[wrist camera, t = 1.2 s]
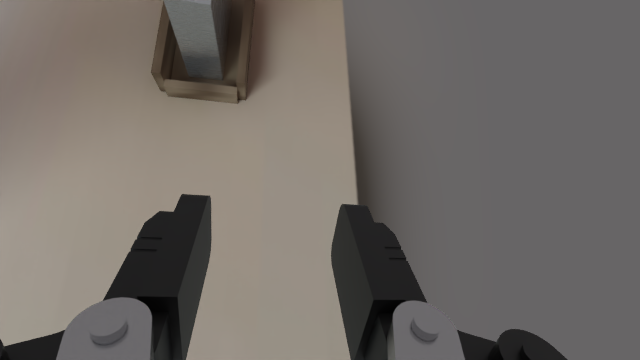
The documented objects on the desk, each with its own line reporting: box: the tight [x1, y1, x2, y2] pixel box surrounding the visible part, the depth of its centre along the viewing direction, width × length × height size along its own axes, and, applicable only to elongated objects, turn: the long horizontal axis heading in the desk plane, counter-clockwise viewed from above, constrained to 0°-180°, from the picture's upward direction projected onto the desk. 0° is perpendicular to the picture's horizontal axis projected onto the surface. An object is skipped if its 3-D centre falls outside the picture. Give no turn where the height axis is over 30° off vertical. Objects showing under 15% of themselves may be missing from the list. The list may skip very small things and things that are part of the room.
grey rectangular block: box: [164, 0, 232, 81], centre depth 33 cm, size 4×10×11 cm, turn 179°
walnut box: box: [151, 0, 255, 104], centre depth 36 cm, size 9×14×4 cm, turn 179°
